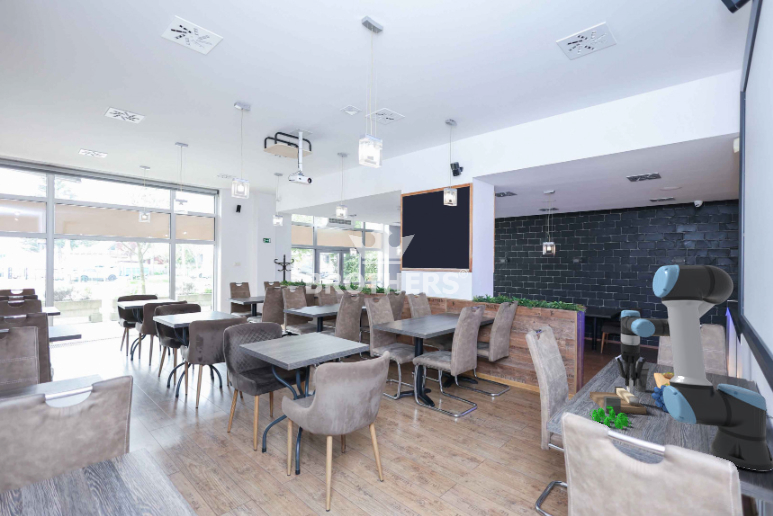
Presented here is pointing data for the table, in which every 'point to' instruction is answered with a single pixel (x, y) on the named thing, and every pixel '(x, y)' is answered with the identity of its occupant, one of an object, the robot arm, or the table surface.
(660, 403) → the grapes
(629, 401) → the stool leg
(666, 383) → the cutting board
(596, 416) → the green knobby part
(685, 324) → the robot arm
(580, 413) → the table surface
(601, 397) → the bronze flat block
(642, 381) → the beverage cup
